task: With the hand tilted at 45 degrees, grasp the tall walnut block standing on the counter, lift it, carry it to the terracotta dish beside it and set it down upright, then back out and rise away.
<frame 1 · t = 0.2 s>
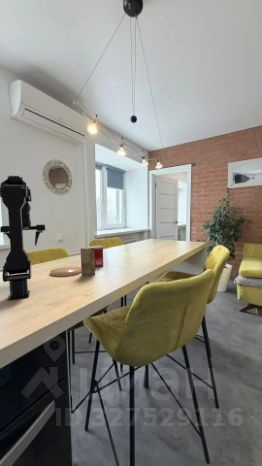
hand: (25, 246, 104), 15 cm above the bar counter, tool pointing down, fingers open, 9 cm apart
walnut block: (88, 274, 106), on the bar counter
terracotta dish: (67, 272, 112), on the bar counter
canned food: (96, 266, 125), on the bar counter
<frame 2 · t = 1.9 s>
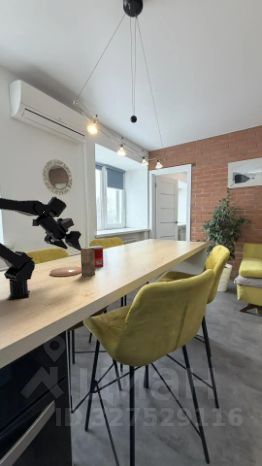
hand: (73, 249, 98), 13 cm above the bar counter, tool tilted 45°, fingers open, 9 cm apart
nothing on the bar counter moved.
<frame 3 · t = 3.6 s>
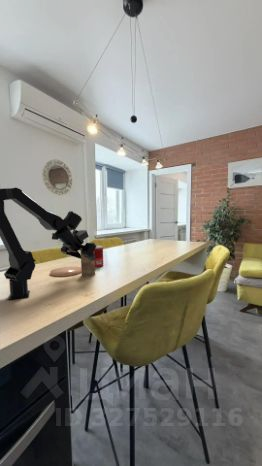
hand: (88, 258, 105), 8 cm above the bar counter, tool tilted 45°, fingers open, 9 cm apart
nothing on the bar counter moved.
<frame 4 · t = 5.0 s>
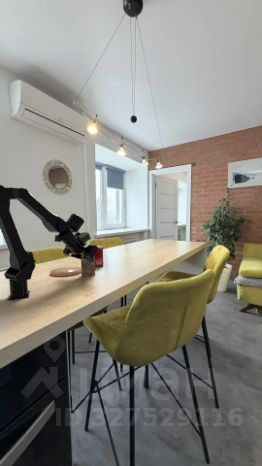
hand: (90, 260, 106), 7 cm above the bar counter, tool tilted 45°, fingers closed on walnut block, 4 cm apart
walnut block: (88, 274, 106), on the bar counter, touching gripper
everything else where it was.
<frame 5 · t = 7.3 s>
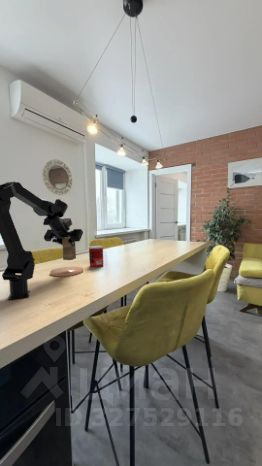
hand: (70, 245, 112), 13 cm above the bar counter, tool tilted 45°, fingers closed on walnut block, 4 cm apart
walnut block: (69, 259, 111), point 7 cm above the bar counter, touching gripper
everything else where it was.
when the fingers open (9 cm above the bar counter, at t = 9.4 s): walnut block stays where it is, resting on terracotta dish.
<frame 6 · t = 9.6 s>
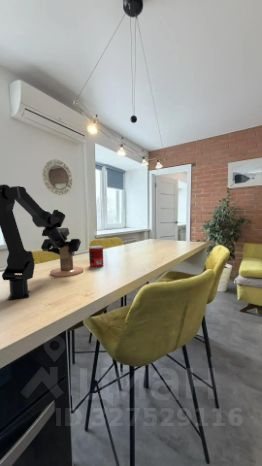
hand: (67, 254, 113), 9 cm above the bar counter, tool tilted 45°, fingers open, 7 cm apart
walnut block: (67, 270, 112), point 1 cm above the bar counter, touching terracotta dish
everything else where it was.
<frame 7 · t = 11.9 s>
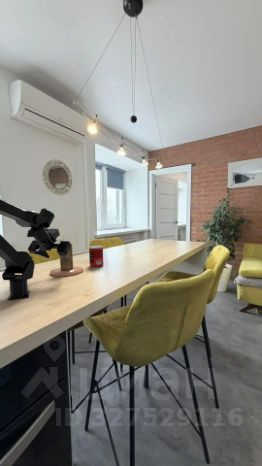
hand: (57, 258, 103), 9 cm above the bar counter, tool tilted 45°, fingers open, 9 cm apart
nothing on the bar counter moved.
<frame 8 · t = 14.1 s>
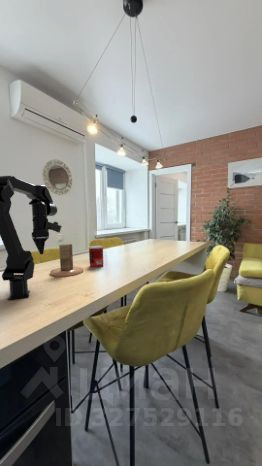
hand: (41, 252, 94), 13 cm above the bar counter, tool pointing down, fingers open, 9 cm apart
nothing on the bar counter moved.
at the end: walnut block inside the target area on the terracotta dish (0.0 cm from its centre), point 1.2 cm above the terracotta dish's base; walnut block tilted 0°; walnut block touching terracotta dish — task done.
